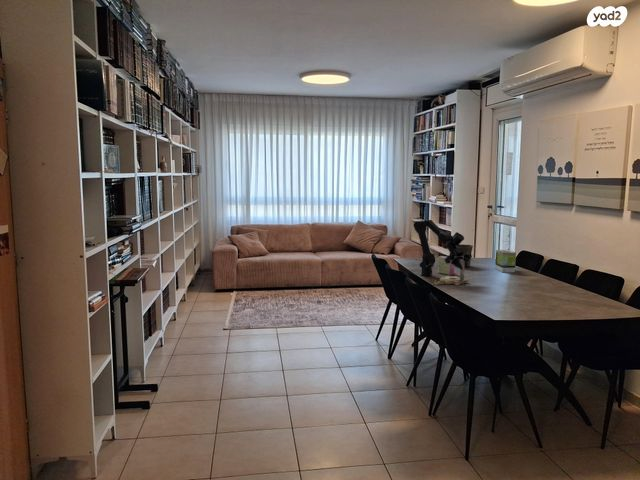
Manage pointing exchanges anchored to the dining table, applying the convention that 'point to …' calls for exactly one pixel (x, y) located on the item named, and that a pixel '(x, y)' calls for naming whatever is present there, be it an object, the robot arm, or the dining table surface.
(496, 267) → the tea box
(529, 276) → the dining table surface
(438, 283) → the pointer
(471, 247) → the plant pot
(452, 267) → the box
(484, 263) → the dining table surface
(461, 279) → the index wheel
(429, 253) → the robot arm
